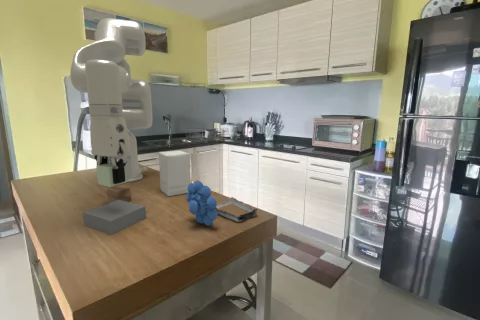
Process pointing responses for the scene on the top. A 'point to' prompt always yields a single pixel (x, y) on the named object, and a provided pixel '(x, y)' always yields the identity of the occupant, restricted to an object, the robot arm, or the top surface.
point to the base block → (114, 216)
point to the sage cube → (107, 175)
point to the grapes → (201, 203)
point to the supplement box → (174, 172)
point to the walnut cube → (119, 194)
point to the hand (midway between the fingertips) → (112, 180)
